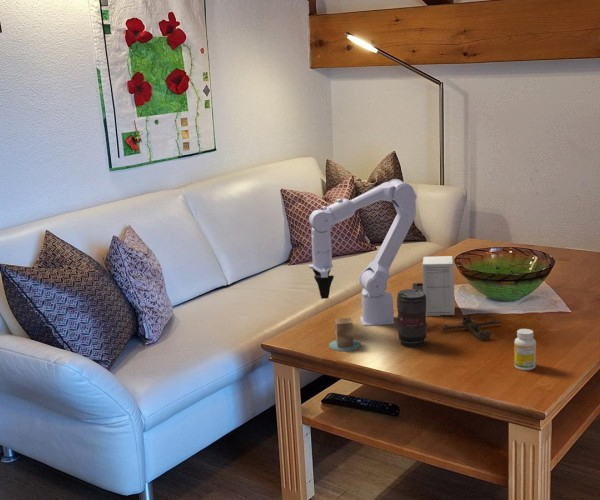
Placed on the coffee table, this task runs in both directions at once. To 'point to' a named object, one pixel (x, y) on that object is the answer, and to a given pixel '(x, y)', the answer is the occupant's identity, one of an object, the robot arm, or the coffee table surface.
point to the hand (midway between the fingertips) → (323, 294)
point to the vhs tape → (418, 286)
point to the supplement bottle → (525, 350)
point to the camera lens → (411, 317)
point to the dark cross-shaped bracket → (473, 327)
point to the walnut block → (344, 332)
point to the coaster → (355, 346)
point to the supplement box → (439, 285)
